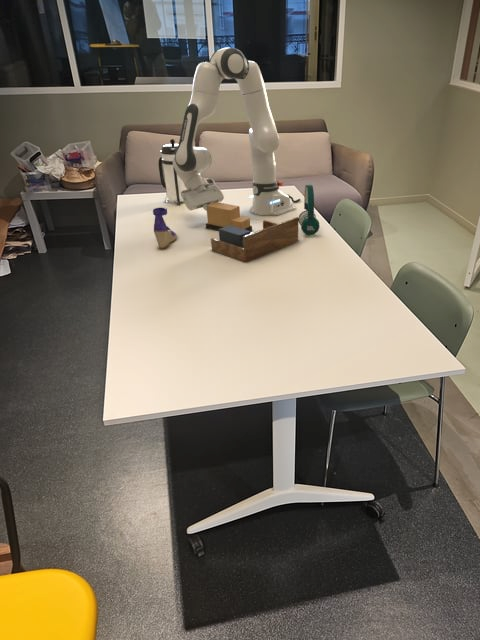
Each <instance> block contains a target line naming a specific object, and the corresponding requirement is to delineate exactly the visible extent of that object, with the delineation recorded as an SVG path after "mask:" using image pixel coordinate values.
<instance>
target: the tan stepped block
mask: <svg viewBox="0 0 480 640" xmlns="http://www.w3.org/2000/svg"><path fill="white" fill-rule="evenodd" d="M240 207H241V206H240V205H234V204H230V203H223V202H219V203H218V202H215V203H212V204H210V205H207V206H206V208H207V211H206V218H207V223H205V228H206V229H209V230H214V231H218V232H219V229H220V228H223V227H226V226H229V225H231V226H234V227H238V228H241V229H244V230H248V231H251V232H252V231H253V225H251V217H245V216H241V211H240V210H241V208H240Z"/></svg>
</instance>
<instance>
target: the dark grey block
mask: <svg viewBox="0 0 480 640" xmlns="http://www.w3.org/2000/svg"><path fill="white" fill-rule="evenodd" d="M251 232H252V231H248V230H244V229H241V228H238V227H234V226H231V225H229V226H226V227H223V228H220V229H219V231H218V236H219V237H218V238H219V239H218V240H220V241H223V242H226V243H229V244H232V245H236V246H239V247H242V248H243V236H245V235H248V234H251Z"/></svg>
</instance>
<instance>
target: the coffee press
mask: <svg viewBox="0 0 480 640" xmlns="http://www.w3.org/2000/svg"><path fill="white" fill-rule="evenodd" d="M169 142H170V143H168V144H165V145H163V146H162V147H161V149H160V154H161V156H159V159H158V173H159V178H160V183H161V185H162V187H163V188H164V189H165V194H166V197H165V199H164V202H165V203H168V202H169V201H172V202H176V203H177V206H181V202H184V200H183V198H182V196H181V192H182V191H183V190H187V189H186V187H185V185H184V182H183V181H182V180H181V179H180V178H179V176H178V174H177V173H176V171H175V169H174V166H173V158H174V157H175V152H176V149H177V147H178V144H179V143H176V140H175V139H174V138H171V139H170V140H169ZM166 199H168V200H166Z"/></svg>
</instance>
